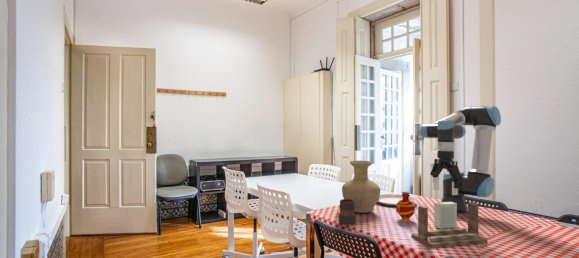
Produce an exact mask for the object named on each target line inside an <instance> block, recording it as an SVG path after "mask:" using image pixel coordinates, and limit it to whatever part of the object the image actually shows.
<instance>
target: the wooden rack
mask: <svg viewBox="0 0 579 258" xmlns="http://www.w3.org/2000/svg"><path fill="white" fill-rule="evenodd" d="M467 208H468V211H467V228H464V227H463V228H462V227H460V228H446V229H437V230H429V226H428V225H429V207H427V206H425V205H418V206H417V209H418V210H417V216H418V217H417V232H416V233H411V238H412V239H414V240H417V242H420V243H422V244H424V245H425V246H427V247H429V248H431V249H434V248H445V247H446V248H447V247H456V246H465V245H466V246H467V245H475V244H477V245H478V244H487V243H488V238H485V237H483V236H481V235H480V234H479V204H478V203H475V202H467Z"/></svg>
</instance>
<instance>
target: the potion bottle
mask: <svg viewBox="0 0 579 258" xmlns="http://www.w3.org/2000/svg"><path fill="white" fill-rule="evenodd" d="M400 195H401V196H402V197H403V199H402V200H400V201H398V203H397V204H396V206H395V211H396V213H397V214H398V215H399V217H400V221H402V222H411V220H412V219H411V218H412V217H413V216H414V214H415V213H416V209H417V208H416V204H415V203H413V202H412V201H410V199H408V197H411V195H410V192H409V191H402V192H401V194H400Z"/></svg>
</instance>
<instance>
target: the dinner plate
mask: <svg viewBox="0 0 579 258" xmlns="http://www.w3.org/2000/svg"><path fill="white" fill-rule="evenodd" d="M401 195H402V194H392V193H391V194H390V193H389V194H388V193H387V194H380V197H379V200H378V201H377V203H380V204H382V205H385V206H389V207H390V206H392V207H396V204H397V203H398V201H400V200H402V199H403V197H402V196H401ZM408 199H410V201H412V202H413V203H414V204H415V203H416V202H417V198H415V197H412V196H410V197H408Z"/></svg>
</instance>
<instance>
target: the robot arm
mask: <svg viewBox="0 0 579 258" xmlns="http://www.w3.org/2000/svg"><path fill="white" fill-rule="evenodd" d="M501 120H502V116H501V112H500V109H499V108H498V107H497V106H495V105H481V106H480V105H479V106H467V107H463V108H460V109H457V110H455V111H452V112H451V114H450V115H448V116H446V117H444V118H442V119H439V120H436V121H435V122H433V123H431V124H422V125H421V126H420V128H419V134H420V136H421V137H422V138H424V139H425V138H427V139H437V152H436V156H437V158H434V160H433V161H434V162H433V166H432V168H431V171H430V176H431V177H432V178H433V179H432V180H433V182H432V183H433V191H439V190H440V174H441V173H442V171H443V170H446V171H448V172H445V173H443V175H442V176H443V177H442V199H441V201H440V202H454V203H457V214H459V213H460V214H463V213H464V214H465V213H468V204H467V202H466V199H465V196H466V195H467V196H471V197H477V198H489V197H490V196H491V195H492V193H493V191H494V188H495V180H494V178H493V177H492V175H491V173H490V172H489V167H490V156H491V149H492V140H493V139H492V138H493V137H492V136H493V132H494V131H495V130H496V129H497V127H498V126H500V125H501V122H502V121H501ZM465 126H472V128H473V129H474V130H475V132H474V142H473V148H472V149H473V150H472V159H471V169H469V170H468V171H467V174H466V173H465V172H464V171H460V169H459V166H458V161H457V160H453V159H454V157H455V156H454V150H455V143H454V142H455V139H456V140H457V139H458V140H459V139H461V138H463V137H464V136H466V133H467V130H466V128H465Z"/></svg>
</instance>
